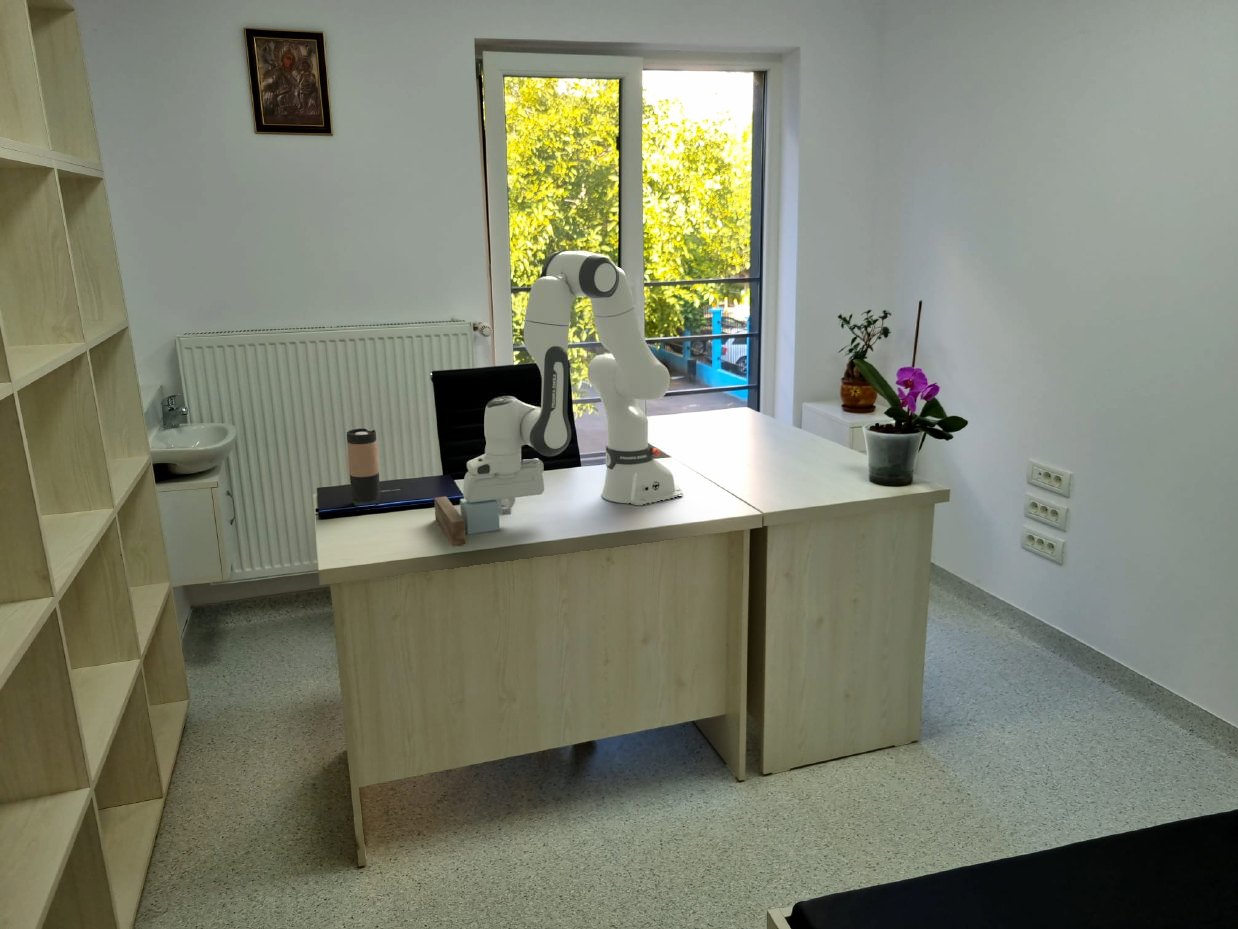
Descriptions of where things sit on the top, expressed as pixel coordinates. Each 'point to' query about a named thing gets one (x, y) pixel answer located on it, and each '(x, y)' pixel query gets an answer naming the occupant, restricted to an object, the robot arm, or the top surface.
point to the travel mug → (363, 465)
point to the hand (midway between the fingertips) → (505, 514)
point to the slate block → (480, 516)
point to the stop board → (450, 521)
